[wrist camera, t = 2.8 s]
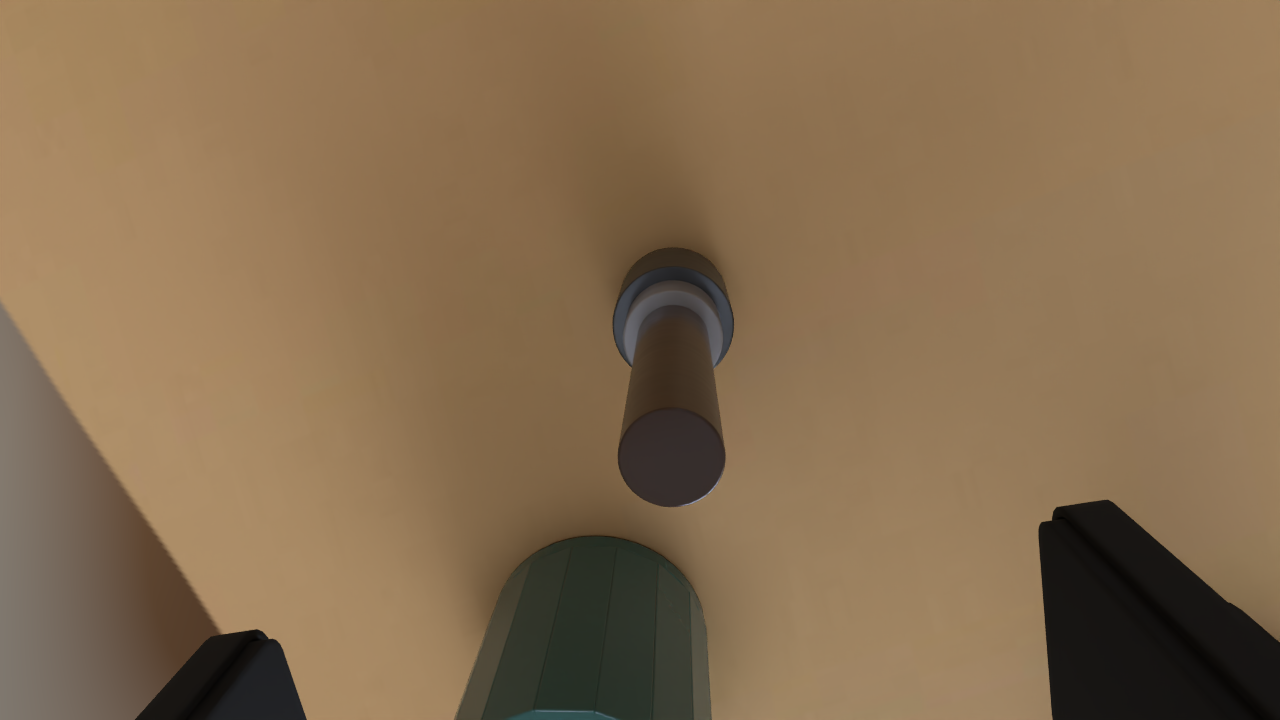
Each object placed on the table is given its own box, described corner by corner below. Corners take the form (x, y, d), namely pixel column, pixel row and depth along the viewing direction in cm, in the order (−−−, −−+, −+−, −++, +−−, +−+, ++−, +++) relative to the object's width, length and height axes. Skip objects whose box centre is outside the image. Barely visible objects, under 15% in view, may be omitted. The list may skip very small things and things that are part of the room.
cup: (451, 629, 33) (365, 830, 24) (595, 493, 31) (561, 655, 22) (603, 755, 34) (576, 990, 25) (749, 632, 32) (778, 839, 23)
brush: (602, 326, 29) (544, 501, 16) (646, 229, 28) (621, 333, 15) (699, 369, 30) (717, 574, 17) (745, 274, 29) (803, 414, 16)
